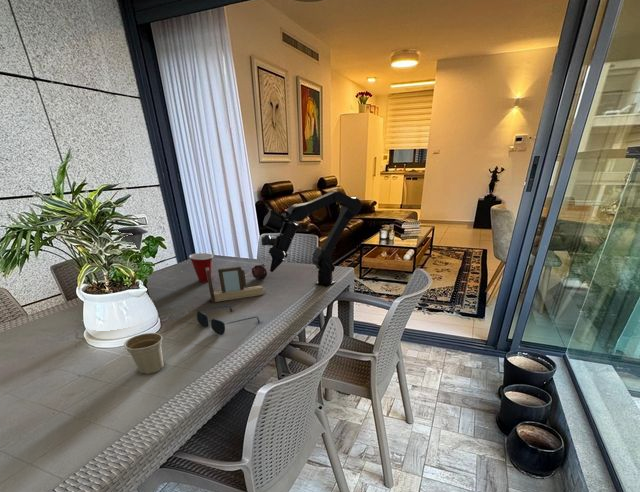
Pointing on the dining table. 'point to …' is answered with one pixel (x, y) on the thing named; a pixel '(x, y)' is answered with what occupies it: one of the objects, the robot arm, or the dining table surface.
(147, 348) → the flower pot
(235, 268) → the brown picture frame
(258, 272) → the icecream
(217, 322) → the sunglasses
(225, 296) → the wooden display stand
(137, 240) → the solar garden light
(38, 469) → the dining table surface
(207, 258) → the plastic cup
